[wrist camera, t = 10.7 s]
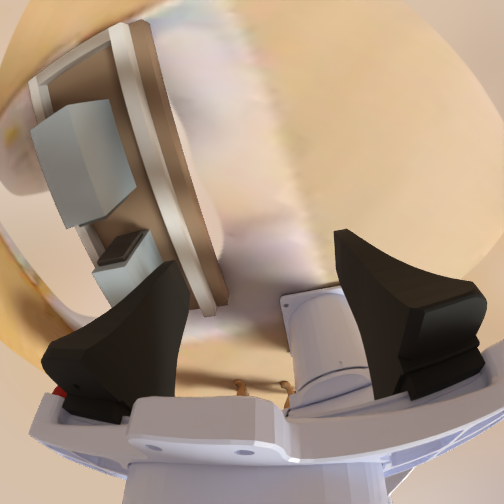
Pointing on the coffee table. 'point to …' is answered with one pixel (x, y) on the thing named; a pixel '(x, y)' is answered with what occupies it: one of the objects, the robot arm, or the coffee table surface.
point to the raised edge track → (136, 167)
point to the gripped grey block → (83, 162)
